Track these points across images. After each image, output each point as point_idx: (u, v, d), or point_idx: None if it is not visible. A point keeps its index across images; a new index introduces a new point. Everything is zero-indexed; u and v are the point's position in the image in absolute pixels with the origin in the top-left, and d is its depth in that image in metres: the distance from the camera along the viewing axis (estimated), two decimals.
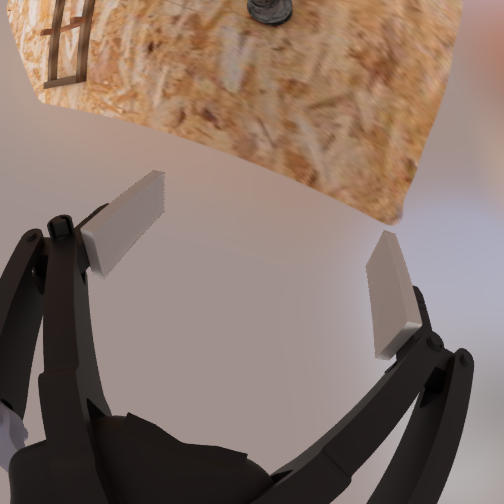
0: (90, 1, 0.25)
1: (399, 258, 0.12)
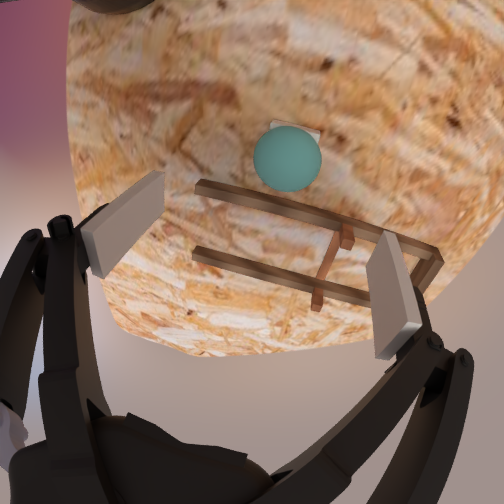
0: (311, 211, 0.29)
1: (399, 258, 0.12)
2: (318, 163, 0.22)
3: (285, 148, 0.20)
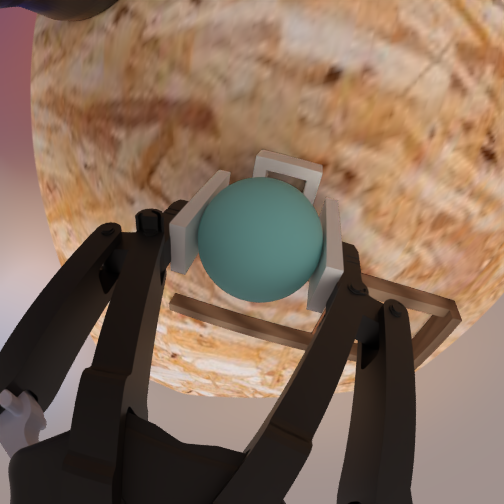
0: None
1: (334, 218, 0.14)
2: (316, 257, 0.12)
3: (248, 240, 0.10)
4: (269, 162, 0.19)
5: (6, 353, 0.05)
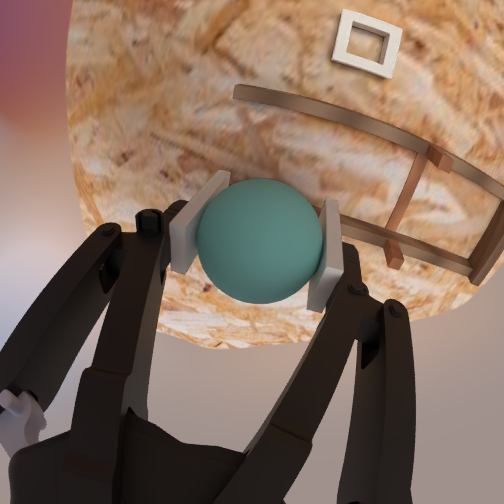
0: (392, 126, 0.18)
1: (334, 218, 0.14)
2: (316, 259, 0.12)
3: (247, 242, 0.10)
4: (355, 14, 0.13)
5: (6, 353, 0.05)
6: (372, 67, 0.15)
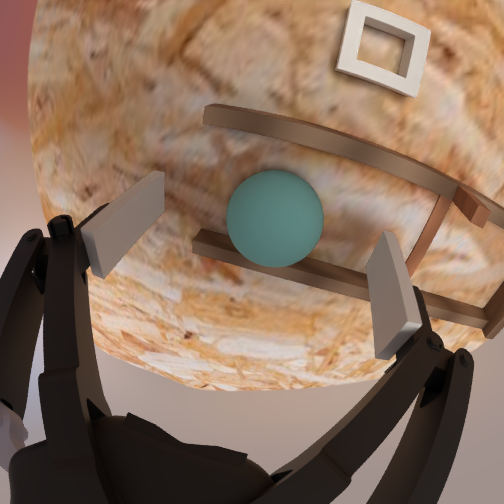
0: (413, 161, 0.14)
1: (399, 258, 0.12)
2: (320, 228, 0.15)
3: (272, 215, 0.14)
4: (369, 8, 0.09)
5: None
6: (392, 81, 0.11)
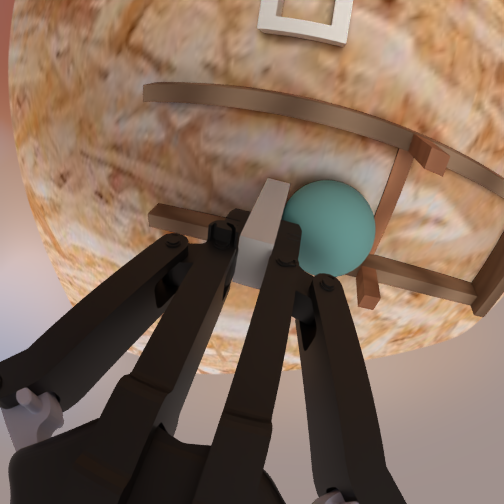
0: (355, 111, 0.13)
1: (280, 199, 0.14)
2: None
3: None
4: None
5: (35, 351, 0.06)
6: (316, 30, 0.10)
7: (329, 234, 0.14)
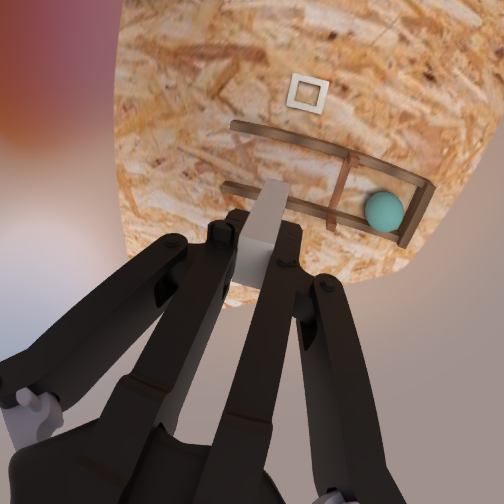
0: (324, 142, 0.35)
1: (281, 199, 0.14)
2: (397, 216, 0.34)
3: (376, 209, 0.35)
4: (300, 76, 0.29)
5: (35, 351, 0.06)
6: (309, 108, 0.32)
7: None
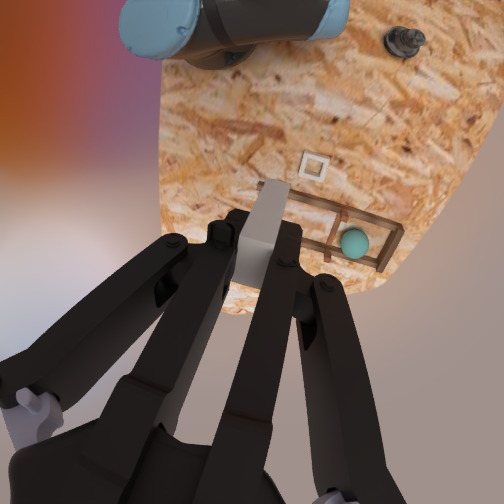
0: (324, 201, 0.51)
1: (281, 199, 0.14)
2: (352, 243, 0.50)
3: (343, 235, 0.53)
4: (309, 155, 0.46)
5: (35, 351, 0.06)
6: (314, 178, 0.48)
7: None
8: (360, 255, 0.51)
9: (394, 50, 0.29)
